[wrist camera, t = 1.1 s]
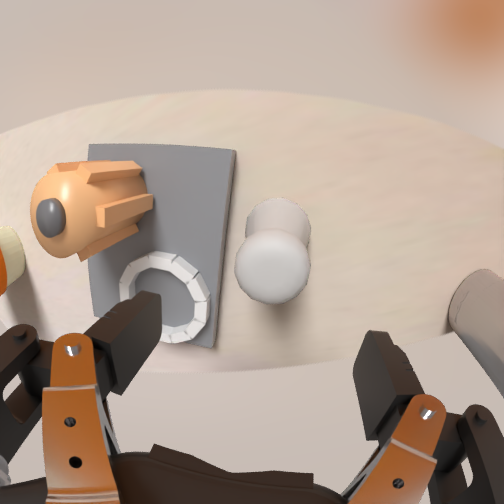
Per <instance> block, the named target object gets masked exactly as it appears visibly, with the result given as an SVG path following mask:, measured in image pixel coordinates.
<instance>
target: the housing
mask: <svg viewBox="0 0 504 504" xmlns="http://www.w3.org/2000/svg"><path fill="white" fill-rule="evenodd" d="M235 156H236V151H235V150H231V149H221V148H210V147H198V146H183V145H163V144H89V150H88V161H82V162H68V163H57V164H55V165H54V166H53V167H52V168H51V169H50V170H49V171H48V172H47V175H46V176H44V177H43V178H41V179H40V181H39V182H38V183H37V185H36V187H35V189H34V191H33V194H32V198H31V205H30V215H31V223H32V227H33V230H34V233H35V235H36V238H37V240H38V241H39V243H40V245H41V246H42V247H43V248H44V250H45V251H47V252H48V253H49V254H50V255H52V256H54V257H57V258H66V257H69V256H71V255H73V254H75V253H77V254H78V256H79V259H80V261H81V262H82V261H84V260H86V259H87V258H88V269H89V279H90V289H91V297H92V304H93V311H94V316H96V317H99V318H101V317H104V315H105V314H106V313H107V312H108V311H110V309H111V308H112V307H114V306H115V305H116V304H117V303H119V302H122V301H124V300H126V299H130V300H131V299H132V298H133V297H134V296H135V295H136V294H137V293H139V292H140V291H141V290H145V291H149V292H153V293H157V294H160V295H161V299H162V334H161V338H160V340H159V341H163V342H167V343H173V344H174V343H179V342H186V343H190V344H194V345H199V346H203V347H208V348H212V347H213V344H214V342H215V339H216V331H217V319H218V308H219V297H220V287H221V277H222V267H223V257H224V248H225V239H226V230H227V221H228V212H229V204H230V195H231V187H232V179H233V171H234V163H235Z"/></svg>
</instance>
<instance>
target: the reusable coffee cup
mask: <svg viewBox="0 0 504 504" xmlns="http://www.w3.org/2000/svg"><path fill="white" fill-rule="evenodd" d="M24 269H25V255H24V250H23V246H22V243H21V241H20V238H19V237H18V235H17V233H16V232H15V230H14V229H13V228H11V227H10V226H3V227H0V296H1V295H2V294H3V293H4V292H5V291H6V288H7V287H8V286H9V285H10V284H11V283H13V282H14V281H15V280H16V279H18V278H19V277H20V276H21V275H22V274H23V273H24Z"/></svg>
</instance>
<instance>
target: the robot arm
mask: <svg viewBox="0 0 504 504" xmlns="http://www.w3.org/2000/svg"><path fill="white" fill-rule="evenodd" d="M449 322H450V326H451V327H452V329H453V330H454V331H455V333H456V334H457V335H458V336H459V338H460V339H461V340H462V341H463V343H464V344H465V345H466V347H467V348H468V349H469V351H470V352H471V353H472V354H473V356H474V357H475V358H476V360H477V361H478V362H479V364H480V365H481V366H482V368H483V369H484V370H485V372H486V373H487V375H488V376H489V377H490V379H491V380H492V382H493V383H494V385H495V386H496V387H497V389H498V390H499V392H500V393H501V395H502V396H503V398H504V279H502V278H501V277H499V276H498V275H496V274H495V273H493V272H492V271H490V270H486V269H484V270H479V271H476V272H474V273H473V274H471V275H469V276H468V277H467V278H466V279H465V280H464V281H463V282H462V284H461V285H460V286H459V288H458V289H457V291H456V292H455V294H454V297H453V299H452V301H451V305H450V308H449ZM161 334H162V299H161V295H160V294H157V293H153V292H149V291H145V290H141V291H140V292H139V293H137V294H136V295H135V296H134V297H133V298H132V299H131V300H130V299H126V300H124V301H122V302H119V303H117V304H116V305H115V306H114V307H112V308H111V309H110V311H108V312H107V313H106V314H105V315H104V317H101V318H100V319H99V320H98V321H97V322H96V323H95V324H93V325H92V326H91V327H90V328H89V329H88V330H87V331H86V332H85V333H84V334H80V333H69V334H65V335H63V336H61V337H59V338H58V339H57V340H56V341H55V342H50V341H44V340H39V338H38V335H37V331H36V329H35V328H34V327H33V326H31V325H27V324H20V325H16V326H13V327H11V328H10V329H8V330H7V331H6V332H5V333H4V334H2V335H1V336H0V504H419V502H420V500H421V498H422V496H423V494H424V492H425V489H426V487H427V485H428V490H429V496H430V502H431V504H504V437H503V435H502V433H501V431H500V429H499V427H498V424H497V422H496V420H495V418H494V416H493V415H492V413H491V412H490V411H489V410H488V409H487V408H485V407H484V406H481V405H476V404H475V405H471V406H469V407H468V408H467V409H466V411H465V412H464V413H463V415H459V414H454V413H448V412H446V409H445V406H444V405H443V404H442V402H441V401H439V400H438V399H437V398H435V397H433V396H431V395H427V394H425V393H424V391H423V389H422V387H421V384H420V382H419V380H418V378H417V376H416V374H415V372H414V371H413V368H412V366H411V364H410V362H409V360H408V358H407V356H406V354H405V353H404V352H403V351H402V350H401V349H400V348H399V347H398V346H397V345H394V344H393V342H392V340H391V338H390V336H389V334H388V333H387V332H382V331H372V330H369V331H368V332H367V333H366V335H365V338H364V340H363V343H362V345H361V348H360V350H359V353H358V355H357V358H356V361H355V363H354V367H353V378H354V383H355V387H356V391H357V396H358V400H359V405H360V410H361V415H362V420H363V425H364V430H365V435H366V440H367V441H369V440H378V442H379V446H378V447H377V448H376V449H375V451H374V452H373V454H372V455H371V457H370V458H369V460H368V461H367V462H366V464H365V465H364V466H363V468H362V469H361V471H360V472H359V473H358V475H357V476H356V477H355V478H354V480H353V481H352V482H351V483H350V485H349V486H348V487H347V488H346V489H345V490H344V491H343V492H342V494H341V495H340V494H338V493H336V492H335V491H333V490H331V489H328V488H326V487H324V486H321V485H318V484H314V483H313V473H295V472H283V471H263V472H247V473H231V472H227V471H225V470H222V469H220V468H218V467H216V466H213V465H211V464H209V463H207V462H205V461H202V460H201V459H198V458H196V457H194V456H192V455H189V454H186V453H182V452H179V451H175V450H172V449H169V448H165V447H162V446H160V445H157V444H154V445H153V447H152V449H151V451H150V453H149V452H125V453H121V451H120V449H119V446H118V443H117V440H116V437H115V432H114V428H113V424H112V419H111V415H110V410H109V406H108V401H107V395H108V394H109V392H110V391H111V392H113V393H116V394H118V395H122V394H123V392H124V391H125V390H126V388H127V387H128V385H129V384H130V382H131V381H132V379H133V378H134V377H135V375H136V374H137V372H138V371H139V369H140V368H141V366H142V365H143V364H144V362H145V361H146V359H147V358H148V356H149V355H150V354H151V352H152V351H153V349H154V348H155V347H156V345H157V344H158V342H159V340H160V338H161ZM17 374H18V375H19V378H20V380H21V384H20V385H19V386H18V387H17V388H16V389H15V390H14V391H13V392H12V393H11V395H10V396H9V397H8V398H7V399H6V401H4V400H3V390H4V388H5V386H6V385H7V384H8V383H9V382H10V381H11V380H12V379H13V378H14V377H15V376H16V375H17ZM41 417H42V436H43V452H44V463H45V472H46V477H42V478H38V479H34V480H30V481H26V482H21V483H16V484H12V485H10V483H11V479H10V476H9V475H8V472H9V470H8V464H9V462H10V461H11V459H12V458H13V456H14V455H15V453H16V452H17V450H18V449H19V447H20V446H21V445H22V443H23V442H24V440H25V439H26V438H27V436H28V435H29V433H30V432H31V430H32V429H33V428H34V426H35V425H36V424H37V422H38V421H39V420H40V418H41ZM467 457H468V459H469V463H470V466H471V469H472V472H473V480H472V483H471V485H470V486H469V487H467V483H466V479H465V476H464V472H463V469H462V466H461V463H462V462H463V461H464V460H465V459H466V458H467Z"/></svg>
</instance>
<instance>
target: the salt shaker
mask: <svg viewBox="0 0 504 504" xmlns="http://www.w3.org/2000/svg"><path fill="white" fill-rule="evenodd" d="M310 232H311V226H310V223H309V219H308V215H307V214H306V212H305V211H304V210H303V209H302V208H301V207H300V206H299V205H298V204H297V203H295V202H292V201H290V200H288V199H285V198H271V199H267V200H265V201H263V202H261V203H260V204H258V205H256V206H255V207H254V209H253V210H252V212H251V213H250V214H249V216H248V217H247V222H246V230H245V236H246V240H245V241H244V243H243V244H242V246H241V247H240V249H239V250H238V252H237V254H236V262H235V272H234V273H235V276H236V278H237V281H238V283H239V286H240V288H241V289H242V290H243V291H244V292H245V293H246V294H247V295H248V296H249V297H250V298H251V299H253V300H256V301H259V302H261V303H264V304H283V303H285V302H287V301H289V300H291V299H293V298H295V297H297V296H298V294H299V293H300V292H301V291H302V290H303V288H304V287H305V286H306V285H307V281H308V277H309V272H310V267H311V264H310V260H309V256H308V252H307V249H306V248H307V245H308V243H309V238H310Z"/></svg>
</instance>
